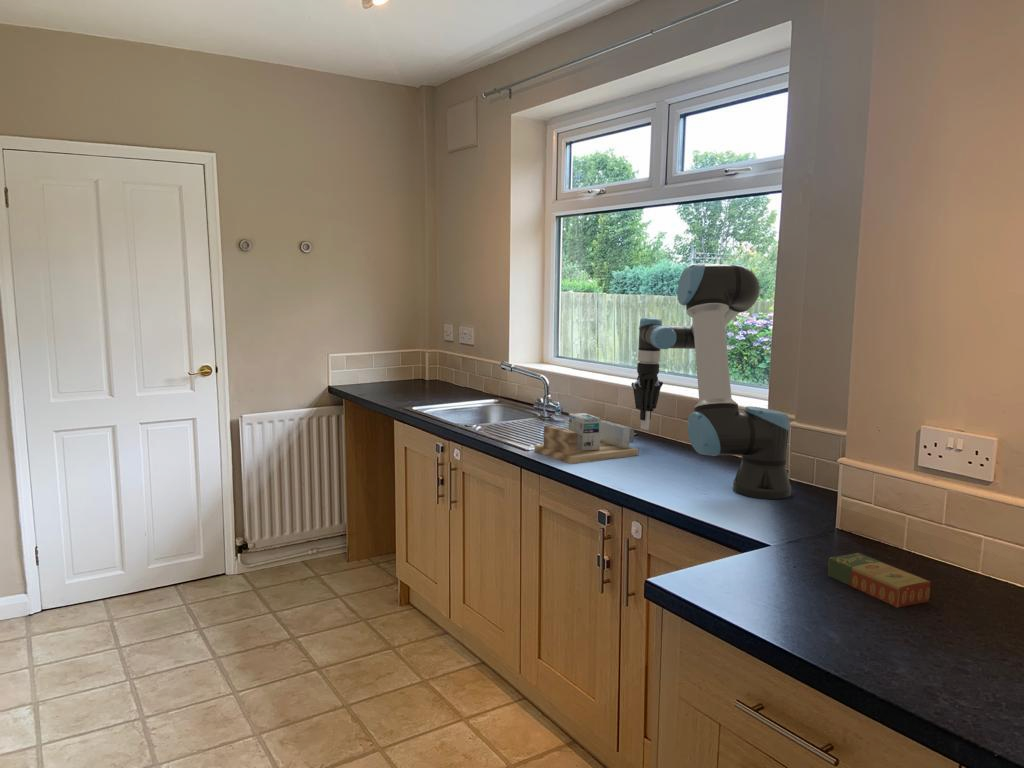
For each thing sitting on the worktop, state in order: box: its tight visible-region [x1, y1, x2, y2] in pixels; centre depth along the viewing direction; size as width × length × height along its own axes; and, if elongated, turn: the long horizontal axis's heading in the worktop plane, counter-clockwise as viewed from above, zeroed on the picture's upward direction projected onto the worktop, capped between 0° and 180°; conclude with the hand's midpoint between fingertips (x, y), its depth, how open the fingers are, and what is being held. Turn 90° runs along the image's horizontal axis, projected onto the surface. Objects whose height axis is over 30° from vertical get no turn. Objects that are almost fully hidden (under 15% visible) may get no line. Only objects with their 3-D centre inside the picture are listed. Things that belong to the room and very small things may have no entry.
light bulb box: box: [568, 412, 602, 451], centre depth 247 cm, size 11×7×11 cm, turn 24°
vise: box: [533, 424, 639, 465], centre depth 247 cm, size 20×28×9 cm
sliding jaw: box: [600, 419, 635, 448], centre depth 255 cm, size 14×10×7 cm
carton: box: [827, 552, 931, 608], centre depth 140 cm, size 8×16×4 cm, turn 23°
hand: (644, 429), depth 261 cm, fingers closed
